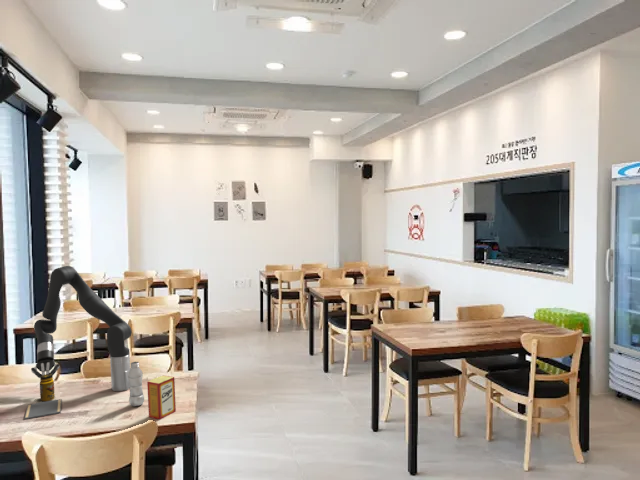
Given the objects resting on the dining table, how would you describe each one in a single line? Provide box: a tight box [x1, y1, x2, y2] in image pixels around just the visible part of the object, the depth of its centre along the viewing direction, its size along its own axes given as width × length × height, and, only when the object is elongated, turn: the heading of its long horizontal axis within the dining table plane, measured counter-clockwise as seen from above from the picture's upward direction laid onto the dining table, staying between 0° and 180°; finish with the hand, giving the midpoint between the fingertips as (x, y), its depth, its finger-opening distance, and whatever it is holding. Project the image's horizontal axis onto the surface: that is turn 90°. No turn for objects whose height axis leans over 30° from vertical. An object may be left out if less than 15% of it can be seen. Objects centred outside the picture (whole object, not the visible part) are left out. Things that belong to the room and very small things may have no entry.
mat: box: [24, 398, 62, 420], centre depth 225 cm, size 18×14×1 cm
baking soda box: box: [146, 375, 177, 420], centre depth 215 cm, size 10×6×16 cm
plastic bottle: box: [128, 361, 145, 407], centre depth 226 cm, size 6×7×20 cm
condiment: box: [34, 373, 57, 403], centre depth 236 cm, size 7×8×12 cm
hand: (45, 383), depth 240 cm, fingers closed
